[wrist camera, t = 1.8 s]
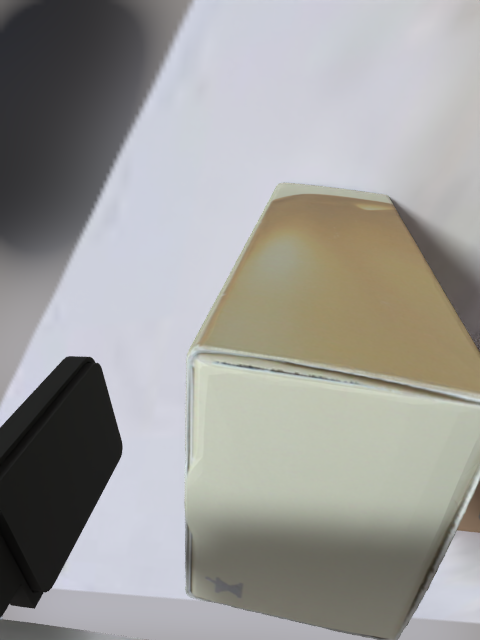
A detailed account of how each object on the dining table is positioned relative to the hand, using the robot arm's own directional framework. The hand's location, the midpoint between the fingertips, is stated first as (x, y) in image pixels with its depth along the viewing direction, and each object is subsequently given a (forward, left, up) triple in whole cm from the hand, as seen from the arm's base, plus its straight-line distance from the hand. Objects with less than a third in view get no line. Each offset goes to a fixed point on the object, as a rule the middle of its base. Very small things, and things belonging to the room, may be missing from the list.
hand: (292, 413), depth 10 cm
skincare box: (-1, 0, -9) cm, 9 cm away
